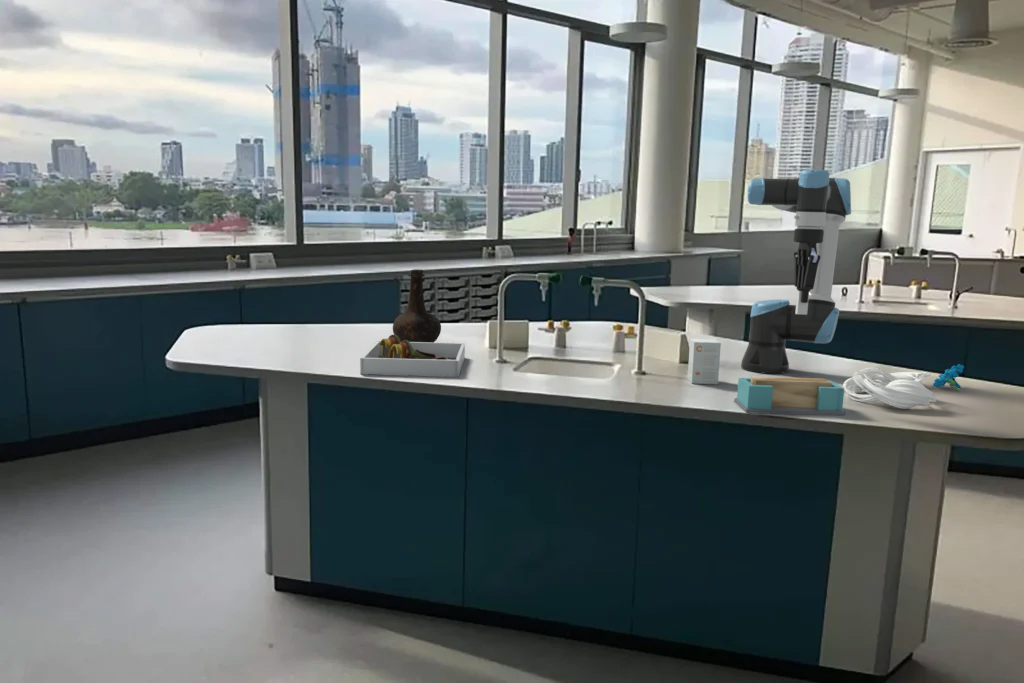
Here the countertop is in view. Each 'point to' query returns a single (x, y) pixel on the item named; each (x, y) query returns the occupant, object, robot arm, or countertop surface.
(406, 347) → the multicoloured curved piece
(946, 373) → the blue toy flower
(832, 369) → the countertop surface
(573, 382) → the countertop surface
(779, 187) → the robot arm
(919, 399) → the coil
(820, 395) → the rail
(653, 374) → the countertop surface
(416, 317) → the glass bottle
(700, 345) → the small box
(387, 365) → the tray
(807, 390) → the slat
